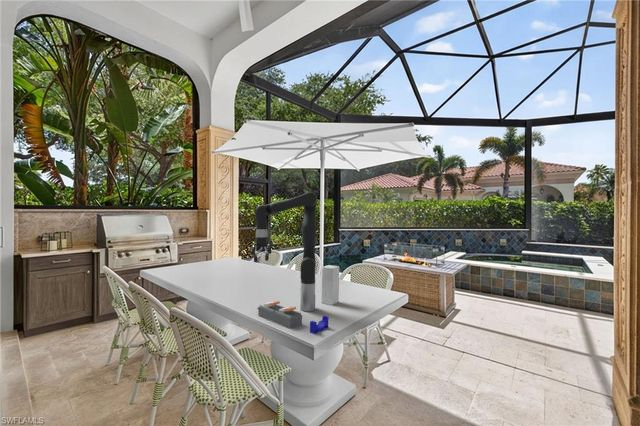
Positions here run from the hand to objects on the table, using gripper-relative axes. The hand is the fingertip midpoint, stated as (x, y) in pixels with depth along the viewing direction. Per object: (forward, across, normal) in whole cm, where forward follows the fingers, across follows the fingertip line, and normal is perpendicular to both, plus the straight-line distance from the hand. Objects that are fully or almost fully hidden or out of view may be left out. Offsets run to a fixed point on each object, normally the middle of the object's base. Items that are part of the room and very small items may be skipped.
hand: (261, 261), depth 195 cm
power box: (+30, +5, +22) cm, 37 cm away
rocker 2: (+23, +5, +32) cm, 39 cm away
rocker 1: (+23, +5, +18) cm, 29 cm away
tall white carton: (+30, -41, +24) cm, 56 cm away
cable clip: (+30, 0, +50) cm, 59 cm away
